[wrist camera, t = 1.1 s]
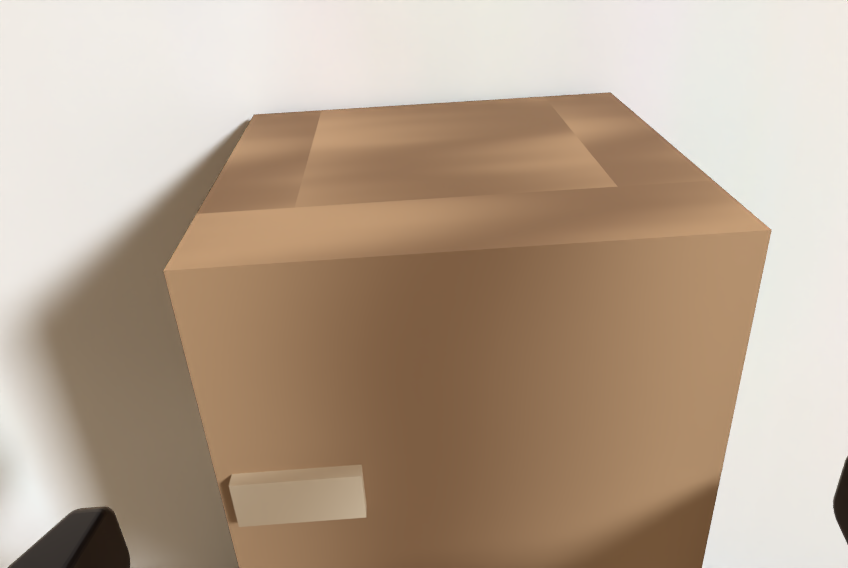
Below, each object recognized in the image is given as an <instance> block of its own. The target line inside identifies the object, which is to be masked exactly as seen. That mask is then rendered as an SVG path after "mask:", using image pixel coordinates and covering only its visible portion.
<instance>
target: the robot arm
mask: <svg viewBox="0 0 848 568" xmlns="http://www.w3.org/2000/svg"><path fill="white" fill-rule="evenodd" d="M833 508H834V514H835V517H836V520H837V522H838V524H839V527H840V529H841V531H842V533H843V535H844V537H845V540H846V542H847V544H848V457H847V458H846V460H845V463H844V467H843V470H842V473H841V476H840V479H839V483H838V486H837V489H836V492H835V495H834V500H833ZM8 568H130V556H129V552H128V548H127V546H126V543H125V540H124V537H123V535H122V532H121V529H120V526H119V523H118V521H117V518H116V515H115V513H114V511H113V510H112V509H110V508H109V507H92V508H80V509H76V510H74V511H72V512H71V513H69V514H68V515H67V516H66V517H65V518H63V519H62V520H61V521H60V522H59V523H58V524H57V525H55V526H54V527H53V528H52V529H51V530H50V531H49V532H47V533H46V534H45V535H44V536H43V537H42V538H41V539H40V540H38V541H37V542H36V543H35V544H34V545H33V546H32V547H30V548H29V549H28V550H27V551H26V552H25V553H24V554H22V555H21V556H20V557H19V558H18V559H17V560H16V561H14V562H13V563H12V564H11V565H10V566H9V567H8Z"/></svg>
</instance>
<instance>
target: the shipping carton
mask: <svg viewBox="0 0 848 568" xmlns="http://www.w3.org/2000/svg"><path fill="white" fill-rule="evenodd" d="M770 235H771V229H770V228H768V227H767V226H766V225H765V224H764V223H763V222H761V221H760V220H759V219H758V218H757V217H756V216H754V215H753V214H752V213H751V212H750V211H749V210H747V209H746V208H745V207H744V206H743V205H741V204H740V203H739V202H738V201H737V200H736V199H734V198H733V197H732V196H731V195H730V194H729V193H727V192H726V191H725V190H724V189H723V188H722V187H720V186H719V185H718V184H717V183H716V182H715V181H713V180H712V179H711V178H710V177H709V176H708V175H706V174H705V173H704V172H703V171H702V170H701V169H699V168H698V167H697V166H696V165H695V164H694V163H692V162H691V161H690V160H689V159H688V158H686V157H685V156H684V155H683V154H682V153H681V152H679V151H678V150H677V149H676V148H675V147H674V146H672V145H671V144H670V143H669V142H668V141H667V140H665V139H664V138H663V137H662V136H661V135H660V134H658V133H657V132H656V131H655V130H654V129H653V128H651V127H650V126H649V125H648V124H647V123H646V122H644V121H643V120H642V119H641V118H640V117H639V116H637V115H636V114H635V113H634V112H633V111H631V110H630V109H629V108H628V107H627V106H626V105H624V104H623V103H622V102H621V101H620V100H619V99H617V98H616V97H615V96H614V95H613V94H612V93H595V94H579V95H563V96H547V97H530V98H514V99H498V100H482V101H466V102H450V103H434V104H417V105H401V106H385V107H369V108H353V109H337V110H321V111H304V112H288V113H272V114H256V115H254V116H253V117H252V119H251V121H250V122H249V124H248V126H247V128H246V129H245V131H244V133H243V134H242V136H241V138H240V140H239V141H238V143H237V145H236V147H235V148H234V150H233V152H232V153H231V155H230V157H229V159H228V160H227V162H226V164H225V165H224V167H223V169H222V171H221V172H220V174H219V176H218V178H217V179H216V181H215V183H214V184H213V186H212V188H211V190H210V191H209V193H208V195H207V196H206V198H205V200H204V202H203V203H202V205H201V207H200V209H199V210H198V212H197V214H196V215H195V217H194V219H193V221H192V222H191V224H190V226H189V227H188V229H187V231H186V233H185V234H184V236H183V238H182V240H181V241H180V243H179V245H178V246H177V248H176V250H175V252H174V253H173V255H172V257H171V258H170V260H169V262H168V264H167V265H166V267H165V269H164V275H165V279H166V283H167V287H168V291H169V295H170V299H171V303H172V307H173V311H174V314H175V318H176V322H177V326H178V330H179V334H180V338H181V342H182V346H183V350H184V354H185V358H186V362H187V365H188V369H189V373H190V377H191V381H192V385H193V389H194V393H195V397H196V401H197V405H198V409H199V413H200V416H201V420H202V424H203V428H204V432H205V436H206V440H207V444H208V448H209V452H210V456H211V460H212V463H213V467H214V471H215V475H216V479H217V483H218V487H219V491H220V495H221V499H222V503H223V507H224V511H225V514H226V518H227V522H228V526H229V530H230V534H231V538H232V542H233V546H234V550H235V554H236V558H237V562H238V565H239V568H702V564H703V559H704V554H705V549H706V544H707V539H708V535H709V530H710V525H711V520H712V515H713V510H714V505H715V501H716V496H717V491H718V486H719V481H720V476H721V472H722V467H723V462H724V457H725V452H726V447H727V443H728V438H729V433H730V428H731V423H732V418H733V414H734V409H735V404H736V399H737V394H738V389H739V385H740V380H741V375H742V370H743V365H744V360H745V355H746V351H747V346H748V341H749V336H750V331H751V326H752V322H753V317H754V312H755V307H756V302H757V297H758V293H759V288H760V283H761V278H762V273H763V268H764V264H765V259H766V254H767V249H768V244H769V239H770Z"/></svg>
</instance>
